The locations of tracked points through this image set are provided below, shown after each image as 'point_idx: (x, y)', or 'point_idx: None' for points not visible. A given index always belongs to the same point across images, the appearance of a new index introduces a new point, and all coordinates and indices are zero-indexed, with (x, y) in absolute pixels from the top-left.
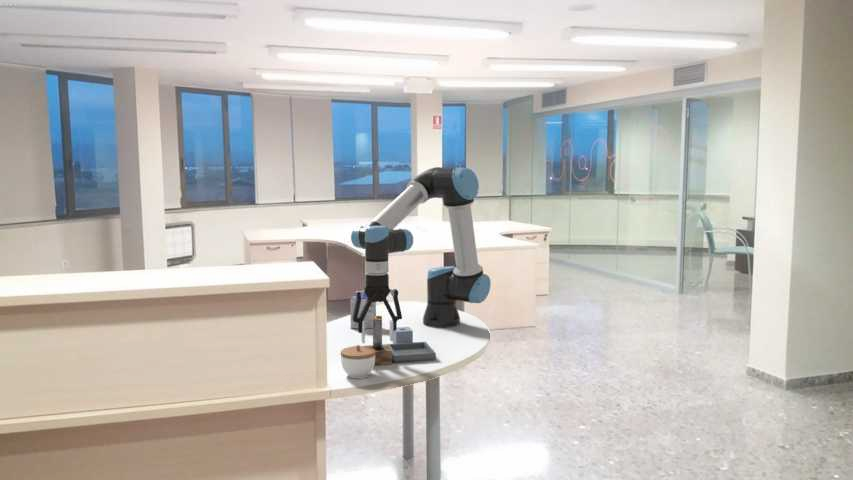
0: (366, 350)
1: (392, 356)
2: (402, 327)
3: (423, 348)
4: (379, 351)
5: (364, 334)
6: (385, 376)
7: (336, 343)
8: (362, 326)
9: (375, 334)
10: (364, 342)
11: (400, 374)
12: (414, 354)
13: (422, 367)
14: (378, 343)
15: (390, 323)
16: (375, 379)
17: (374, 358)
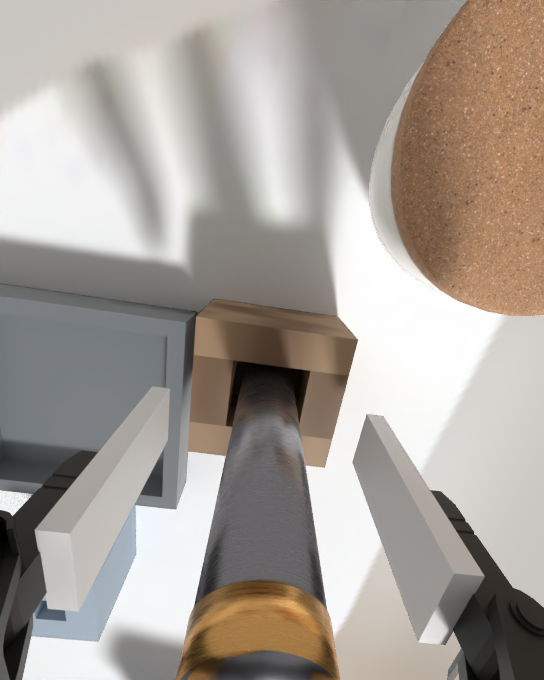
0: (519, 96)
1: (188, 363)
2: (46, 632)
3: (8, 444)
4: (276, 334)
5: (395, 460)
6: (312, 94)
7: (342, 609)
8: (459, 539)
9: (292, 446)
10: (370, 418)
11: (215, 95)
12: (60, 304)
13: (59, 180)
14: (269, 393)
15: (93, 539)
16: (388, 57)
17: (421, 64)
